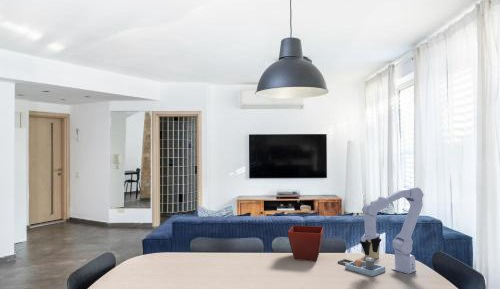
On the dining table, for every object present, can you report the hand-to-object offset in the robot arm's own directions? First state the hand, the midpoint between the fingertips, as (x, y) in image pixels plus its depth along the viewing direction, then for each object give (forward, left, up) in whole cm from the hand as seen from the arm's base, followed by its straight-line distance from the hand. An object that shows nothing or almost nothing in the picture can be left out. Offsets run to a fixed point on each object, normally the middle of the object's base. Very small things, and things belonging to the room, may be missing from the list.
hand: (370, 253), depth 180 cm
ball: (+8, 0, -7) cm, 10 cm away
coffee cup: (+15, -25, -10) cm, 31 cm away
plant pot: (+39, +6, -10) cm, 41 cm away
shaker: (+1, 0, -9) cm, 9 cm away
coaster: (+17, -3, -9) cm, 20 cm away
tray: (+4, 0, -9) cm, 10 cm away
